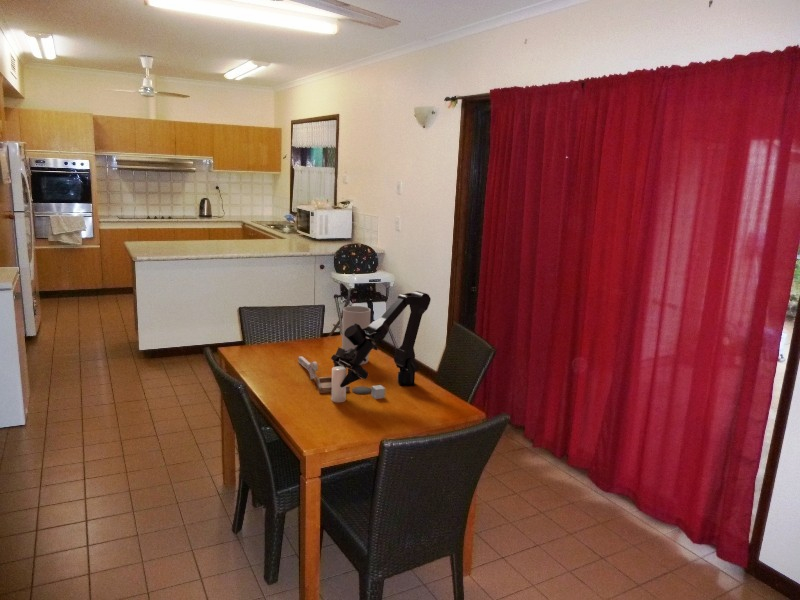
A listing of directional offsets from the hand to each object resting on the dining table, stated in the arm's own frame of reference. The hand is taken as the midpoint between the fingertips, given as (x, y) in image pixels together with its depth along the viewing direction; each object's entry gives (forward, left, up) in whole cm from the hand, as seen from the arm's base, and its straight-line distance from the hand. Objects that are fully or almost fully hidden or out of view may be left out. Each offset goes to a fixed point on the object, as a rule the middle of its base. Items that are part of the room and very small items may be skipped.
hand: (335, 384), depth 220 cm
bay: (+1, -14, -7) cm, 16 cm away
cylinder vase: (-9, -47, -7) cm, 49 cm away
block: (-17, -4, -7) cm, 18 cm away
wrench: (+12, -31, -7) cm, 34 cm away
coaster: (-11, -10, -7) cm, 16 cm away
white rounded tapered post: (-1, -1, -7) cm, 7 cm away
